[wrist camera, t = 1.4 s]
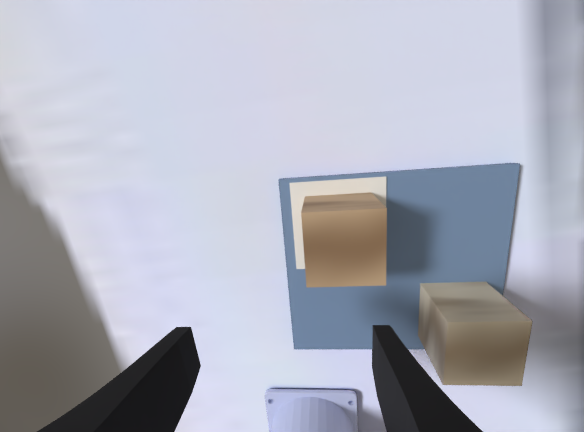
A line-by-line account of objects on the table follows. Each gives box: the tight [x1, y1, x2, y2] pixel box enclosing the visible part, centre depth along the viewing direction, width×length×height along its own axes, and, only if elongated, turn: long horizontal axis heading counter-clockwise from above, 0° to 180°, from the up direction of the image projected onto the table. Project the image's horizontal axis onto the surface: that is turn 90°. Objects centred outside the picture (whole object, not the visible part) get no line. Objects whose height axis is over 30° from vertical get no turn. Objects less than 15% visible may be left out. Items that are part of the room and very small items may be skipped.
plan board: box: [279, 163, 520, 349], centre depth 21 cm, size 14×16×1 cm
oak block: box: [301, 192, 387, 287], centre depth 18 cm, size 4×4×4 cm
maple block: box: [418, 282, 532, 386], centre depth 19 cm, size 4×4×4 cm
